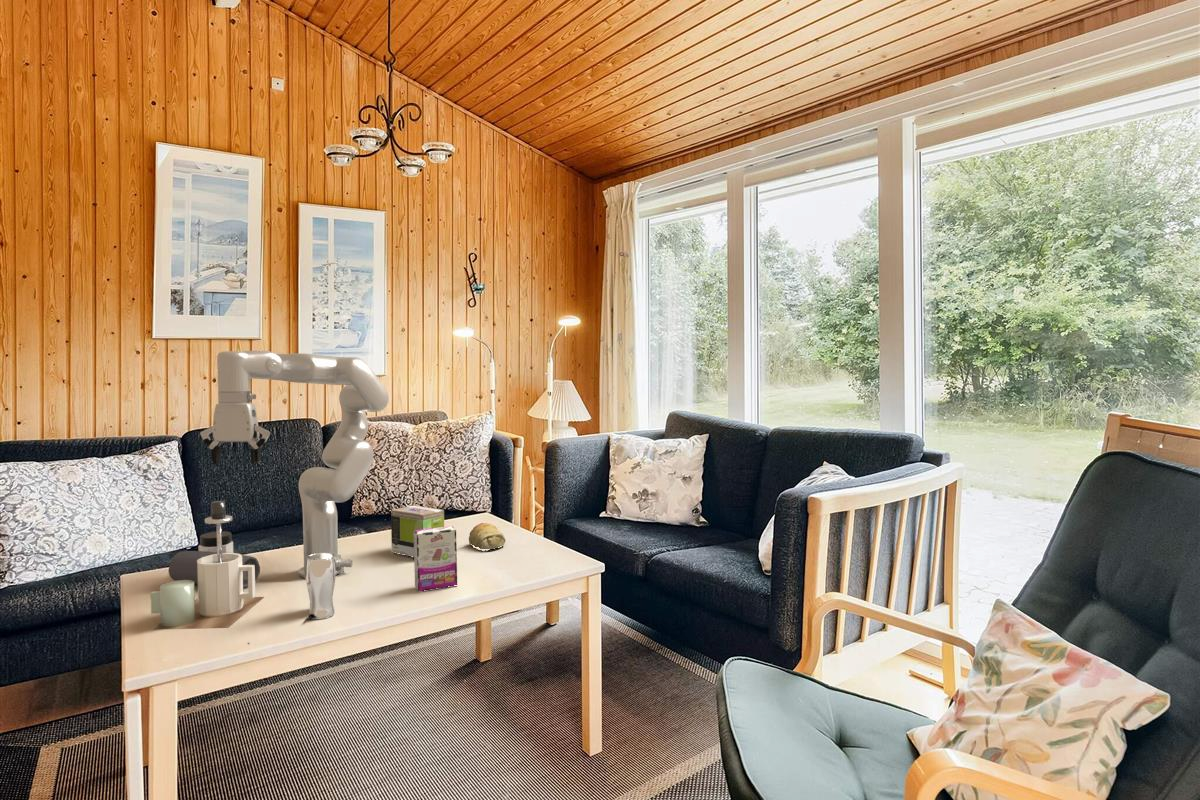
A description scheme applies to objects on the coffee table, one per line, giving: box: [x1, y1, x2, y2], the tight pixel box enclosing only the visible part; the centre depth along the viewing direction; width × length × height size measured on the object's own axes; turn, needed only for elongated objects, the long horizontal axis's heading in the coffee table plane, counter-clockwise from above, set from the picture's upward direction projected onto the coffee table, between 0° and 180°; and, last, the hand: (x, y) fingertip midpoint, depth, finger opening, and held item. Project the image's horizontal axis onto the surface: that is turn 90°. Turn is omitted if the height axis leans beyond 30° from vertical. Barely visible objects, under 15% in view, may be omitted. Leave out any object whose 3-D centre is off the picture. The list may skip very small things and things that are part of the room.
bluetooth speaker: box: [168, 550, 261, 589], centre depth 194 cm, size 23×9×10 cm, turn 77°
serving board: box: [152, 596, 265, 630], centre depth 172 cm, size 17×21×1 cm
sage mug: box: [150, 580, 196, 627], centre depth 166 cm, size 9×7×9 cm
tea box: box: [390, 505, 445, 558], centre depth 228 cm, size 15×10×15 cm, turn 58°
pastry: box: [468, 522, 506, 549], centre depth 238 cm, size 14×12×8 cm
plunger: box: [204, 500, 233, 563], centre depth 173 cm, size 7×7×17 cm
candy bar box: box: [413, 525, 458, 592], centre depth 195 cm, size 11×5×16 cm, turn 117°
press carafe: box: [197, 552, 256, 617], centre depth 174 cm, size 13×10×13 cm
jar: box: [198, 530, 234, 553], centre depth 205 cm, size 9×8×12 cm
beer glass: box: [305, 552, 337, 620], centre depth 174 cm, size 7×7×15 cm
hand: (236, 463), depth 183 cm, fingers open, 9 cm apart
